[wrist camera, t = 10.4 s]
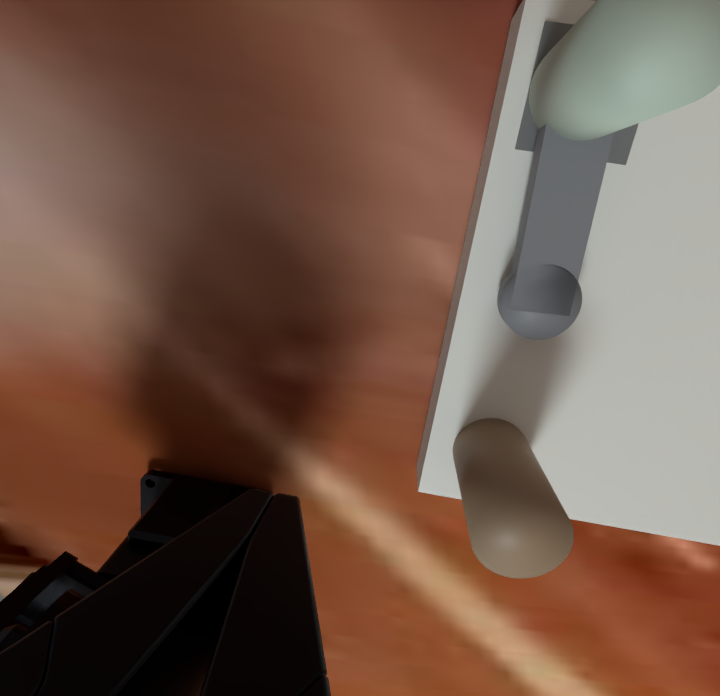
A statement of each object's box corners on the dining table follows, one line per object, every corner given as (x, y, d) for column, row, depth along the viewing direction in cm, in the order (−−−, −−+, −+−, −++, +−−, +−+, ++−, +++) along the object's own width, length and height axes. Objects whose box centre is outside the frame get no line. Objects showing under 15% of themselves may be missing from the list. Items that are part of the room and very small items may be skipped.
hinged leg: (569, 338, 16) (642, 393, 11) (485, 329, 16) (521, 379, 11) (643, 37, 13) (784, -63, 8) (540, 31, 13) (618, -71, 8)
